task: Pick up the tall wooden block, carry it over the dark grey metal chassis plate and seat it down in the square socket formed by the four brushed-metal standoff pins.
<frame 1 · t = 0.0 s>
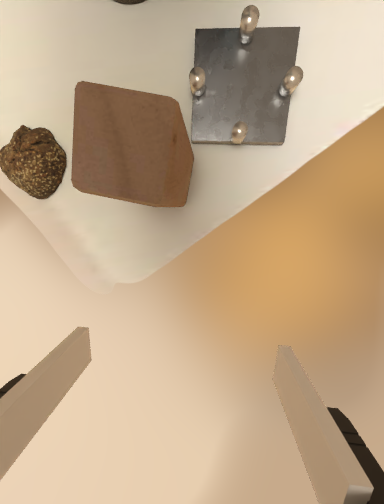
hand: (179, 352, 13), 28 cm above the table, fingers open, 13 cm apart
brown rounded lump: (39, 162, 39), on the table
wooden block: (165, 176, 38), on the table
chassis: (240, 93, 33), on the table
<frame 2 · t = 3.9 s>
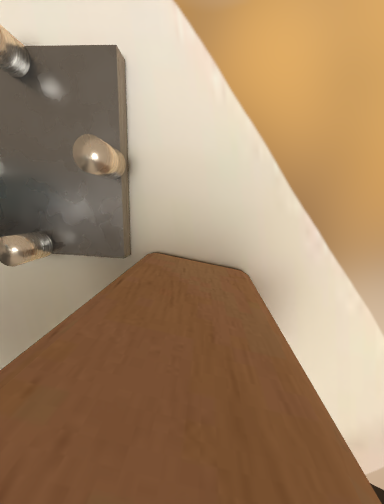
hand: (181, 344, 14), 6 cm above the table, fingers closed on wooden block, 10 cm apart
wooden block: (189, 303, 20), on the table, touching gripper
chassis: (43, 164, 18), on the table
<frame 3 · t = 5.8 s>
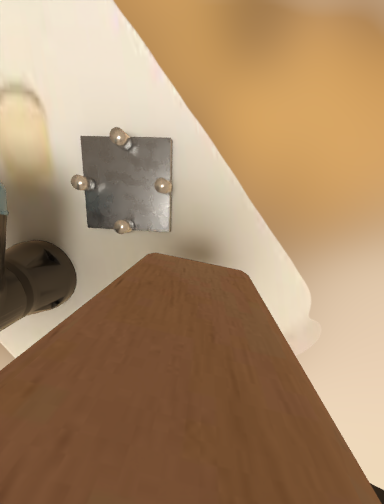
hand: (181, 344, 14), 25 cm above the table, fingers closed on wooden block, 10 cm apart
wooden block: (189, 303, 20), point 19 cm above the table, touching gripper
chassis: (129, 186, 37), on the table
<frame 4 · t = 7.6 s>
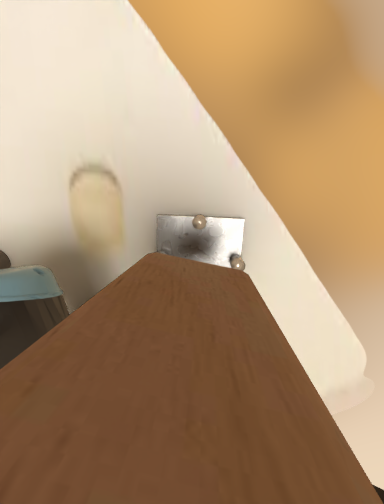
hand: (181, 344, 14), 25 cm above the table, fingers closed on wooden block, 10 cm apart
wooden block: (189, 303, 20), point 19 cm above the table, touching gripper
chassis: (198, 257, 39), on the table
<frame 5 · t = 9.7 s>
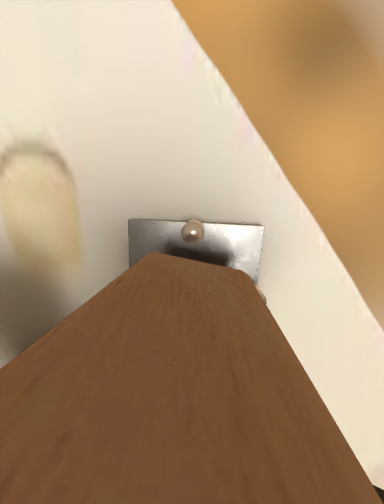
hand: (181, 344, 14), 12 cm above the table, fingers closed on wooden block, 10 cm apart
wooden block: (189, 303, 20), point 6 cm above the table, touching gripper
chassis: (192, 282, 26), on the table
when the fingers open (8 cm above the table, at t = 11.6 s): wooden block stays where it is, resting on chassis.
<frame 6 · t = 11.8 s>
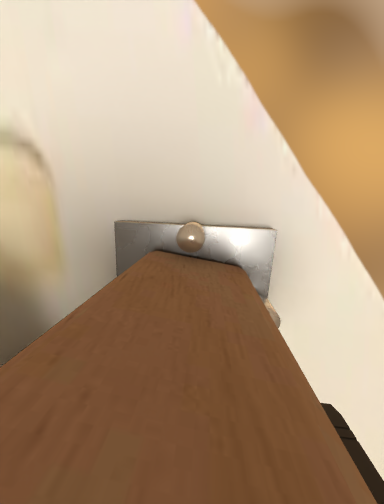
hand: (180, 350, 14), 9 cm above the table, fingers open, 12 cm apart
wooden block: (189, 299, 21), point 1 cm above the table, touching chassis
chassis: (191, 294, 22), on the table
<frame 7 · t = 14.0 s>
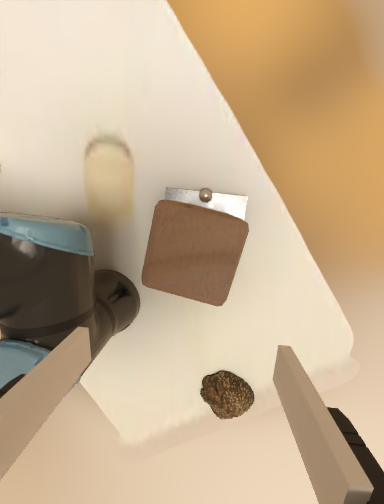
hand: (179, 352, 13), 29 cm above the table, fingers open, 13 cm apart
brown rounded lump: (224, 389, 50), on the table
wooden block: (201, 232, 40), point 1 cm above the table, touching chassis
chassis: (201, 231, 41), on the table
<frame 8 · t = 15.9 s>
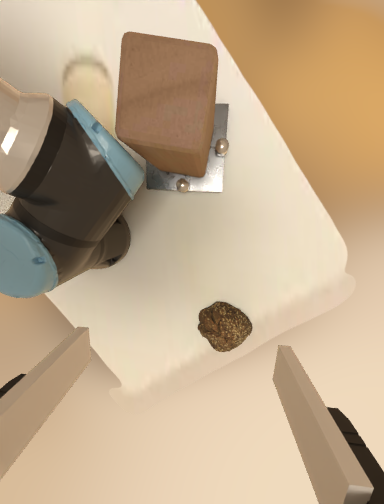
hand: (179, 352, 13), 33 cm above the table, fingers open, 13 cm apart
brown rounded lump: (222, 323, 50), on the table
wooden block: (184, 149, 39), point 1 cm above the table, touching chassis
chassis: (186, 151, 41), on the table
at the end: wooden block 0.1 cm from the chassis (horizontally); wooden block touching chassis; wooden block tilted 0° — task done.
